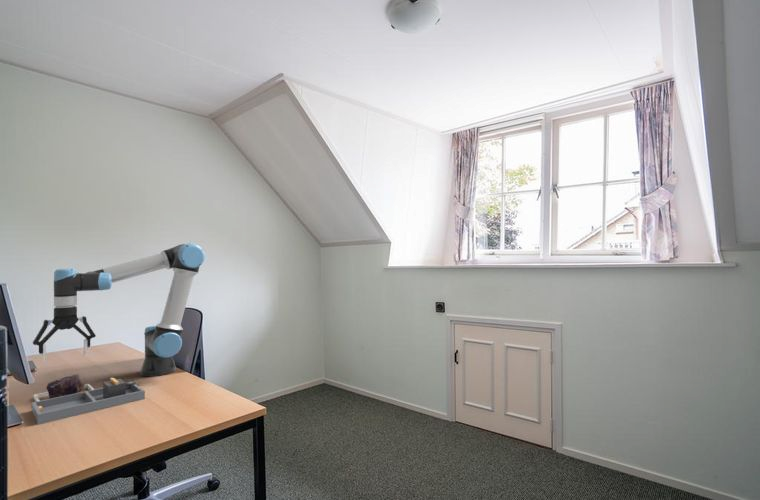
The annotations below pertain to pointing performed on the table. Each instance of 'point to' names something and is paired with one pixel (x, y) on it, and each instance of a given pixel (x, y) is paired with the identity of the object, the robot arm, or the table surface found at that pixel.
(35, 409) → the holder
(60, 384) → the rock
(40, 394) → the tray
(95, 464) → the table surface
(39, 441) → the table surface
